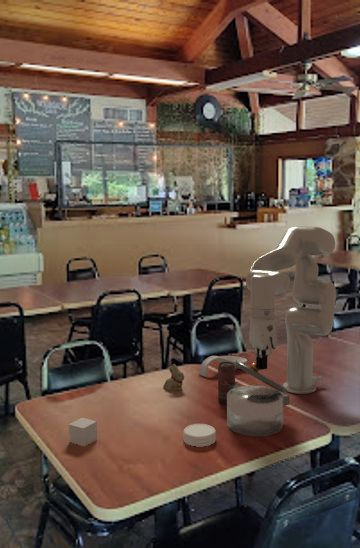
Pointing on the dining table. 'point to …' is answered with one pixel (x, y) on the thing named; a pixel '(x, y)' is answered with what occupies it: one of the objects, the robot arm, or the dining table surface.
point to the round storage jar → (255, 410)
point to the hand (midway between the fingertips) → (261, 368)
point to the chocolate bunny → (174, 379)
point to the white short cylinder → (199, 435)
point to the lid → (259, 376)
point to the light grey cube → (83, 431)
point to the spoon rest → (221, 359)
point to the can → (225, 379)
